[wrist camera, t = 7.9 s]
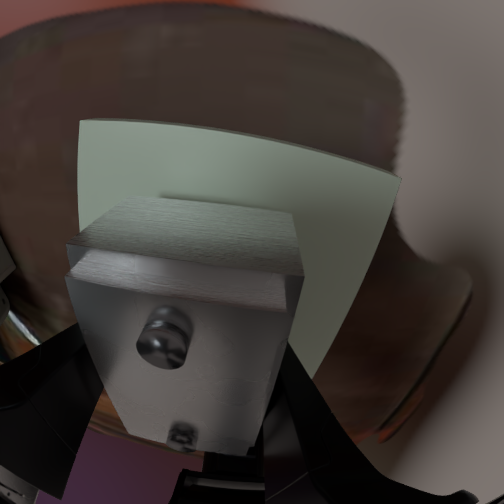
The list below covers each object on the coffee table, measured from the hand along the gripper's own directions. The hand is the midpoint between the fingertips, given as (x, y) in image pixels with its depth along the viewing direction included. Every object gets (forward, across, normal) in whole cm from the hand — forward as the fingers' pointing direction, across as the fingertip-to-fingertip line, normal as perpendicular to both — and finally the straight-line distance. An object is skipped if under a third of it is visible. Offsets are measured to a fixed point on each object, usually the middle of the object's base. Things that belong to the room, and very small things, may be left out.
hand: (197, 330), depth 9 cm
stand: (+6, 0, 0) cm, 7 cm away
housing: (+1, 0, 0) cm, 1 cm away
